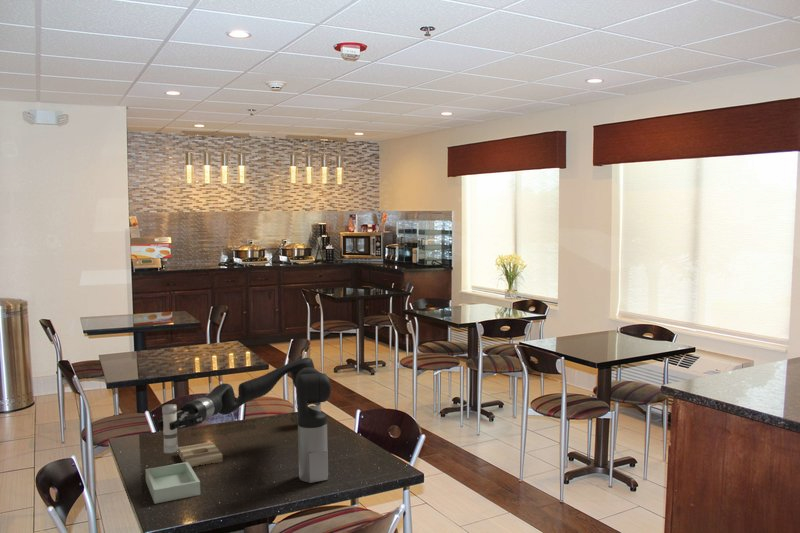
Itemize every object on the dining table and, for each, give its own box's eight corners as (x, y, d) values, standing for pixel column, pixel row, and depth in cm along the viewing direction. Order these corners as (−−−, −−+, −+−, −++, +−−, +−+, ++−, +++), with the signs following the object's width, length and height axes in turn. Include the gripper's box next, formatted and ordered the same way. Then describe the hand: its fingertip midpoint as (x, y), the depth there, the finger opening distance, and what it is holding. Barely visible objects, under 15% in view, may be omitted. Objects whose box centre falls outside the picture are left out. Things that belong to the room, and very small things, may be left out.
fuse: (179, 451, 200) (177, 406, 199) (164, 454, 198) (163, 408, 197) (176, 447, 203) (175, 403, 203) (162, 450, 201) (161, 405, 201)
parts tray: (200, 494, 195) (200, 481, 195) (154, 503, 189) (154, 490, 189) (188, 473, 213) (187, 461, 213) (145, 481, 207) (145, 469, 206)
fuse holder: (222, 461, 224) (222, 454, 224) (186, 467, 218) (186, 460, 218) (212, 448, 238) (212, 441, 238) (178, 454, 232) (178, 447, 232)
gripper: (178, 398, 216) (144, 412, 199) (216, 401, 211) (183, 415, 195) (179, 421, 216) (144, 436, 200) (216, 424, 212) (184, 440, 195)
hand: (164, 426), depth 197 cm, fingers closed on fuse, 4 cm apart
